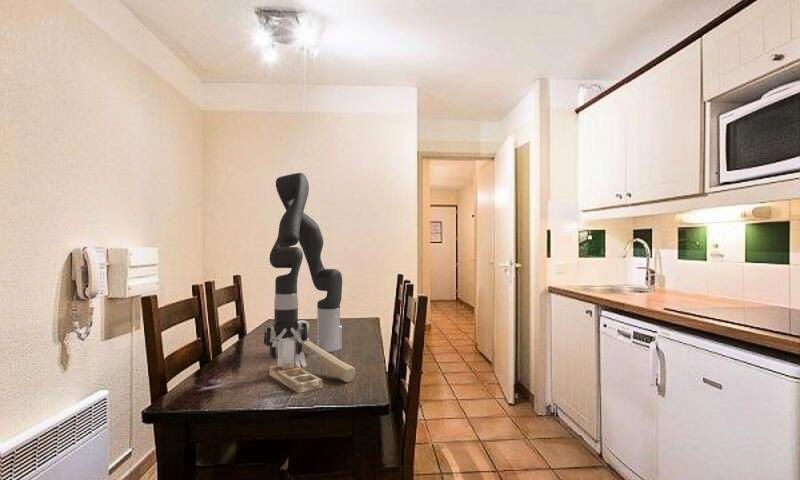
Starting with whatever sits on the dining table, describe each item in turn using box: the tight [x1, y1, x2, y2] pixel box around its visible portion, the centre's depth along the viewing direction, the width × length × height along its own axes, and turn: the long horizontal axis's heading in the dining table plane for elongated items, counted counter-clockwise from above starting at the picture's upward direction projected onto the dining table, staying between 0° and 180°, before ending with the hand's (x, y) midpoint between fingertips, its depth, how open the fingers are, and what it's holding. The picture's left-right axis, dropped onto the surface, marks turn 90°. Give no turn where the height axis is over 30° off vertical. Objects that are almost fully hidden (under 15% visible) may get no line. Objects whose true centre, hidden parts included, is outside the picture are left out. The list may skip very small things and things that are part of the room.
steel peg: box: [277, 338, 294, 371], centre depth 149 cm, size 4×4×12 cm
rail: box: [269, 364, 324, 394], centre depth 144 cm, size 8×22×3 cm, turn 38°
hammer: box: [292, 319, 356, 383], centre depth 153 cm, size 16×5×30 cm
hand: (285, 356), depth 149 cm, fingers open, 8 cm apart
